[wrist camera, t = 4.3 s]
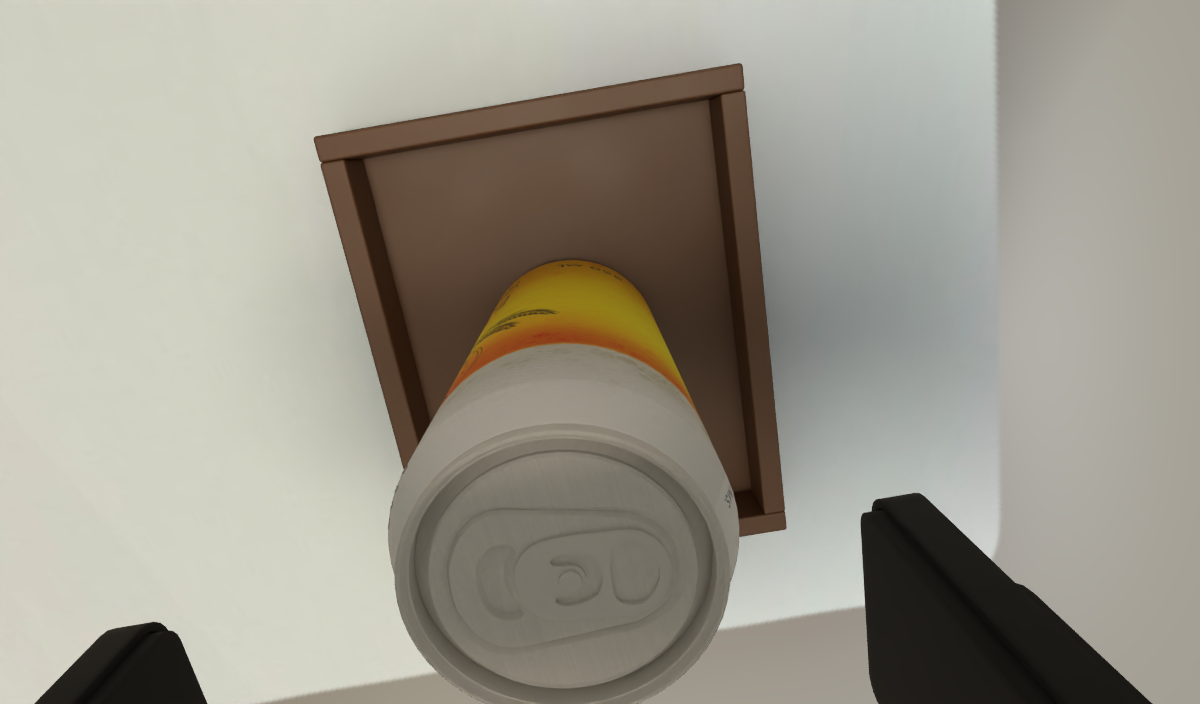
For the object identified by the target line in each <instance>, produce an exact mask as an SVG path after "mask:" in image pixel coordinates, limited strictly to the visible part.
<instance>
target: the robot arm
mask: <svg viewBox="0 0 1200 704" xmlns="http://www.w3.org/2000/svg"><path fill="white" fill-rule="evenodd" d="M861 538H862V555H863V573H864V590H865V608H866V625H867V642H868V660H869V675H870V680H871V685H872V688H873V692H874V694H875V697H876V700H877V702H878V703H879V704H1152V703H1151V702H1150V701H1148V700H1147V699H1146V698H1145V697H1144V696H1143V695H1142V694H1141V693H1140V692H1139V691H1138V690H1137V689H1136V688H1135V687H1134V686H1133V685H1132V684H1130V683H1129V682H1128V681H1127V680H1126V679H1125V678H1124V677H1123V676H1122V675H1121V674H1120V673H1119V672H1118V671H1117V670H1116V669H1114V668H1113V667H1112V666H1111V665H1110V664H1109V663H1108V662H1107V661H1106V660H1105V659H1104V658H1102V656H1101V655H1100V654H1098V653H1097V652H1096V651H1095V650H1094V649H1093V648H1092V647H1091V646H1090V645H1089V644H1088V643H1086V641H1085V640H1083V639H1082V638H1081V637H1080V636H1079V635H1078V634H1077V633H1076V632H1075V631H1074V630H1073V629H1072V628H1071V627H1070V626H1068V625H1067V624H1066V623H1065V622H1064V621H1063V620H1062V619H1061V618H1060V617H1059V616H1058V615H1056V613H1055V612H1053V611H1052V610H1051V609H1050V608H1049V607H1048V606H1047V605H1046V604H1045V603H1044V602H1043V601H1042V600H1041V599H1040V598H1039V597H1038V596H1037V595H1035V594H1034V593H1033V592H1031V591H1030V590H1029V589H1028V588H1026V587H1025V586H1023V585H1020V584H1017V583H1015V582H1013V580H1011V578H1009V577H1008V576H1007V575H1006V574H1005V573H1004V572H1003V571H1002V570H1001V569H1000V568H999V567H998V566H997V565H996V564H995V563H994V562H993V561H992V560H991V559H990V558H988V557H987V556H986V555H985V554H984V553H983V552H982V551H981V550H980V549H979V548H978V547H977V546H976V545H975V544H974V543H973V542H972V541H971V540H970V539H969V538H968V537H966V536H965V535H964V534H963V533H962V532H961V531H960V530H959V529H958V528H957V527H956V526H955V525H954V524H953V523H952V522H951V521H950V520H949V519H948V518H947V517H945V516H944V515H943V514H942V513H941V512H940V511H939V510H938V509H937V508H936V507H935V506H934V505H933V504H932V503H931V502H930V501H929V500H928V499H927V498H926V497H924V496H923V495H921V494H920V493H912V494H906V495H900V496H895V497H889V498H883V499H877V500H875V501H874V502H873V506H872V512H867V513H863V514H862V517H861ZM35 704H207V702H206V699H205V697H204V695H203V692H202V690H201V688H200V685H199V683H198V680H197V678H196V676H195V673H194V671H193V668H192V666H191V664H190V661H189V659H188V656H187V654H186V652H185V649H184V647H183V644H182V642H181V640H180V638H179V636H178V635H177V634H176V633H175V632H173V631H168V630H167V628H166V627H165V626H164V625H162V624H161V623H157V622H151V623H145V624H139V625H133V626H127V627H121V628H115V629H112V630H109V631H107V632H105V633H104V634H103V635H101V636H100V637H99V638H98V639H97V640H96V641H95V642H94V643H93V644H92V645H91V646H90V647H89V648H88V649H87V651H86V652H85V653H84V654H83V655H82V656H81V657H80V658H79V659H78V660H77V661H76V662H75V663H74V664H73V665H72V666H71V667H70V668H69V669H68V670H67V671H66V672H65V673H64V674H63V675H62V676H61V677H60V678H59V679H58V680H57V681H56V682H55V683H54V684H53V685H52V686H51V687H50V688H49V689H48V690H47V691H46V692H45V693H44V694H43V695H42V696H41V697H40V699H39V700H38V701H37V702H36V703H35Z"/></svg>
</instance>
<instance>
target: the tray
mask: <svg viewBox="0 0 1200 704" xmlns="http://www.w3.org/2000/svg"><path fill="white" fill-rule="evenodd" d="M743 89H744V76H743V66H742V64H740V63H738V64H732V65H726V66H720V67H715V68H709V69H703V70H697V71H691V72H686V73H680V74H674V75H668V76H663V77H657V78H651V79H645V80H639V81H634V82H628V83H622V84H616V85H611V86H605V87H599V88H593V89H587V90H582V91H576V92H570V93H564V94H559V95H553V96H547V97H541V98H535V99H530V100H524V101H518V102H512V103H506V104H501V105H495V106H489V107H483V108H478V109H472V110H466V111H460V112H454V113H449V114H443V115H437V116H431V117H426V118H420V119H414V120H408V121H402V122H397V123H391V124H385V125H379V126H374V127H368V128H362V129H356V130H350V131H345V132H339V133H333V134H327V135H321V136H316V137H314V143H315V146H316V150H317V154H318V157H319V160H320V162H322V163H321V169H322V172H323V176H324V180H325V183H326V187H327V191H328V194H329V198H330V202H331V205H332V209H333V213H334V216H335V220H336V223H337V227H338V231H339V234H340V238H341V242H342V245H343V249H344V253H345V256H346V260H347V264H348V267H349V271H350V275H351V278H352V282H353V286H354V289H355V293H356V297H357V300H358V304H359V308H360V311H361V315H362V318H363V322H364V326H365V329H366V333H367V337H368V340H369V344H370V348H371V351H372V355H373V359H374V362H375V366H376V370H377V373H378V377H379V381H380V384H381V388H382V392H383V395H384V399H385V403H386V406H387V410H388V413H389V417H390V421H391V424H392V428H393V432H394V435H395V439H396V443H397V446H398V450H399V454H400V457H401V461H402V465H403V468H404V469H405V468H406V466H407V464H408V462H409V461H410V459H411V457H412V455H413V453H414V452H415V450H416V448H417V446H418V445H419V443H420V441H421V439H422V437H423V436H424V434H425V432H426V430H427V429H428V427H429V425H430V423H431V421H432V420H433V418H434V416H435V414H436V413H437V411H438V409H439V407H440V406H441V404H442V402H443V400H444V398H445V397H446V395H447V393H448V391H449V390H450V388H451V386H452V384H453V382H454V381H455V379H456V377H457V375H458V374H459V372H460V370H461V368H462V366H463V365H464V363H465V361H466V359H467V358H468V356H469V354H470V352H471V350H472V349H473V347H474V345H475V343H476V342H477V340H478V338H479V336H480V334H481V333H482V331H483V329H484V327H485V326H486V324H487V322H488V320H489V318H490V317H491V315H492V313H493V311H494V310H495V308H496V306H497V304H498V303H499V301H500V299H501V297H502V296H503V295H504V293H505V292H506V291H507V289H508V288H509V287H510V286H511V285H512V284H513V283H514V282H515V281H516V280H518V279H519V278H520V277H521V276H523V275H524V274H526V273H527V272H529V271H531V270H533V269H535V268H537V267H539V266H542V265H545V264H548V263H552V262H556V261H564V260H581V261H589V262H593V263H597V264H600V265H602V266H605V267H608V268H610V269H612V270H614V271H615V272H617V273H619V274H620V275H622V276H623V277H625V278H626V279H627V280H628V281H629V282H630V283H632V284H633V286H634V287H635V288H636V289H637V290H638V291H639V292H640V294H641V295H642V297H643V298H644V299H645V301H646V303H647V305H648V307H649V309H650V311H651V313H652V315H653V317H654V319H655V322H656V324H657V326H658V328H659V330H660V332H661V335H662V337H663V339H664V341H665V343H666V345H667V348H668V350H669V352H670V354H671V356H672V358H673V361H674V363H675V365H676V367H677V369H678V371H679V373H680V376H681V378H682V380H683V382H684V384H685V386H686V389H687V391H688V393H689V395H690V397H691V399H692V402H693V404H694V406H695V408H696V410H697V412H698V415H699V417H700V419H701V421H702V423H703V425H704V427H705V430H706V432H707V434H708V436H709V438H710V440H711V443H712V445H713V447H714V449H715V451H716V453H717V456H718V458H719V460H720V462H721V464H722V466H723V469H724V471H725V473H726V475H727V478H728V480H729V483H730V485H731V488H732V490H733V494H734V498H735V502H736V506H737V511H738V520H739V537H741V536H748V535H754V534H760V533H766V532H773V531H779V530H785V529H786V517H785V512H784V510H785V506H784V496H783V485H782V475H781V464H780V454H779V443H778V433H777V422H776V412H775V401H774V390H773V380H772V369H771V359H770V348H769V338H768V327H767V317H766V306H765V296H764V285H763V275H762V264H761V254H760V243H759V233H758V222H757V212H756V201H755V191H754V180H753V169H752V159H751V148H750V138H749V127H748V117H747V106H746V96H745V91H743Z"/></svg>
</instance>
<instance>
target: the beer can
mask: <svg viewBox="0 0 1200 704" xmlns="http://www.w3.org/2000/svg"><path fill="white" fill-rule="evenodd" d="M388 540H389V551H390V558H391V564H392V568H393V571H394V575H395V590H396V596H397V603H398V606H399V610H400V613H401V617H402V620H403V622H404V624H405V626H406V629H407V631H408V633H409V635H410V637H411V639H412V640H413V642H414V644H415V645H416V647H417V649H418V650H419V651H420V653H421V654H422V655H423V656H424V658H425V659H426V660H427V662H428V663H429V664H430V665H431V666H432V667H433V668H434V669H435V670H436V671H437V672H438V673H439V674H440V675H441V676H442V677H444V678H445V679H446V680H447V681H449V682H450V683H451V684H452V685H453V686H455V687H457V688H458V689H459V690H461V691H463V692H464V693H466V694H467V695H469V696H471V697H473V698H475V699H477V700H479V701H481V702H482V703H484V704H638V703H641V702H643V701H645V700H647V699H649V698H650V697H652V696H654V695H656V694H658V693H659V692H661V691H662V690H664V689H665V688H667V687H668V686H670V685H671V684H672V683H674V682H675V681H676V680H678V679H679V678H680V677H681V676H682V675H684V674H685V673H686V672H687V671H688V670H689V669H690V668H691V667H692V666H693V665H694V663H695V662H696V661H697V660H698V659H699V658H700V656H701V655H702V654H703V652H704V651H705V650H706V648H707V647H708V645H709V644H710V642H711V640H712V639H713V637H714V635H715V633H716V632H717V629H718V627H719V625H720V622H721V620H722V618H723V614H724V611H725V608H726V604H727V600H728V594H729V587H730V582H731V579H732V576H733V572H734V569H735V565H736V561H737V554H738V548H739V520H738V511H737V506H736V502H735V498H734V494H733V490H732V488H731V485H730V483H729V480H728V478H727V475H726V473H725V471H724V469H723V466H722V464H721V462H720V460H719V458H718V456H717V453H716V451H715V449H714V447H713V445H712V443H711V440H710V438H709V436H708V434H707V432H706V430H705V427H704V425H703V423H702V421H701V419H700V417H699V415H698V412H697V410H696V408H695V406H694V404H693V402H692V399H691V397H690V395H689V393H688V391H687V389H686V386H685V384H684V382H683V380H682V378H681V376H680V373H679V371H678V369H677V367H676V365H675V363H674V361H673V358H672V356H671V354H670V352H669V350H668V348H667V345H666V343H665V341H664V339H663V337H662V335H661V332H660V330H659V328H658V326H657V324H656V322H655V319H654V317H653V315H652V313H651V311H650V309H649V307H648V305H647V303H646V301H645V299H644V298H643V297H642V295H641V294H640V292H639V291H638V290H637V289H636V288H635V287H634V286H633V284H632V283H630V282H629V281H628V280H627V279H626V278H625V277H623V276H622V275H620V274H619V273H617V272H615V271H614V270H612V269H610V268H608V267H605V266H602V265H600V264H597V263H593V262H589V261H581V260H564V261H556V262H552V263H548V264H545V265H542V266H539V267H537V268H535V269H533V270H531V271H529V272H527V273H526V274H524V275H523V276H521V277H520V278H519V279H518V280H516V281H515V282H514V283H513V284H512V285H511V286H510V287H509V288H508V289H507V291H506V292H505V293H504V295H503V296H502V297H501V299H500V301H499V303H498V304H497V306H496V308H495V310H494V311H493V313H492V315H491V317H490V318H489V320H488V322H487V324H486V326H485V327H484V329H483V331H482V333H481V334H480V336H479V338H478V340H477V342H476V343H475V345H474V347H473V349H472V350H471V352H470V354H469V356H468V358H467V359H466V361H465V363H464V365H463V366H462V368H461V370H460V372H459V374H458V375H457V377H456V379H455V381H454V382H453V384H452V386H451V388H450V390H449V391H448V393H447V395H446V397H445V398H444V400H443V402H442V404H441V406H440V407H439V409H438V411H437V413H436V414H435V416H434V418H433V420H432V421H431V423H430V425H429V427H428V429H427V430H426V432H425V434H424V436H423V437H422V439H421V441H420V443H419V445H418V446H417V448H416V450H415V452H414V453H413V455H412V457H411V459H410V461H409V462H408V464H407V466H406V468H405V469H404V471H403V473H402V475H401V478H400V480H399V483H398V485H397V488H396V490H395V493H394V497H393V501H392V505H391V509H390V517H389V525H388Z"/></svg>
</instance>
